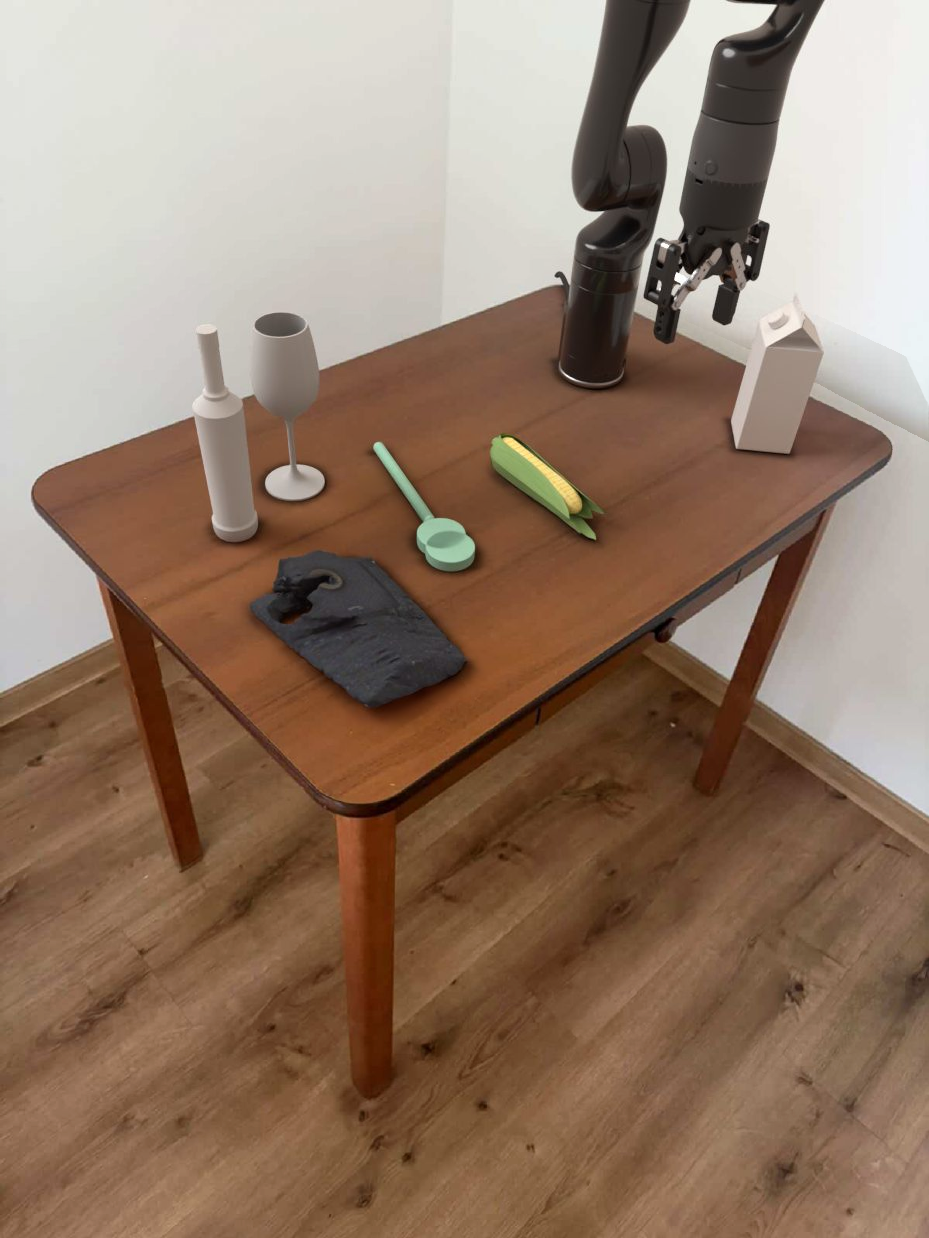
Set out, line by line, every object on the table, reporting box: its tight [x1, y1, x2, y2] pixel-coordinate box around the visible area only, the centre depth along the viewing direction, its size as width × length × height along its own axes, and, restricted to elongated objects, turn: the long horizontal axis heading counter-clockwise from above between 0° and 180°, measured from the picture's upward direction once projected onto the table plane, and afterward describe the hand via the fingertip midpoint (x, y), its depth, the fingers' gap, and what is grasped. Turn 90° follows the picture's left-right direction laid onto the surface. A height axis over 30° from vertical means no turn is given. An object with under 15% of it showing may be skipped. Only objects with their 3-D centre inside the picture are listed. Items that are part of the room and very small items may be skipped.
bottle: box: [191, 323, 259, 543], centre depth 103 cm, size 5×5×25 cm
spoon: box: [373, 441, 476, 572], centre depth 116 cm, size 26×6×1 cm, turn 25°
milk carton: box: [730, 292, 825, 455], centre depth 124 cm, size 7×7×19 cm
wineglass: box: [249, 311, 326, 502], centre depth 111 cm, size 8×8×21 cm
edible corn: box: [489, 432, 606, 541], centre depth 117 cm, size 5×20×5 cm, turn 35°
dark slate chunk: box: [249, 549, 469, 709], centre depth 98 cm, size 15×22×5 cm
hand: (692, 331), depth 100 cm, fingers open, 8 cm apart
